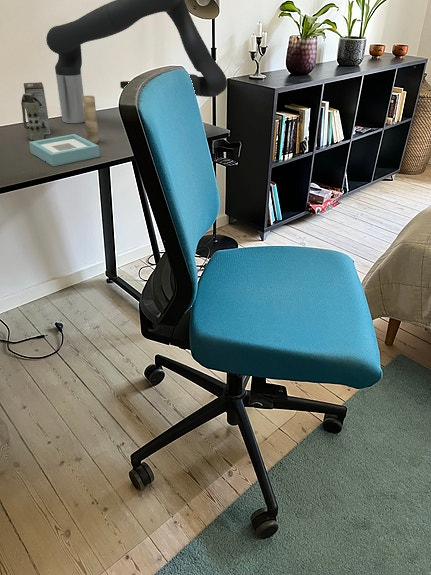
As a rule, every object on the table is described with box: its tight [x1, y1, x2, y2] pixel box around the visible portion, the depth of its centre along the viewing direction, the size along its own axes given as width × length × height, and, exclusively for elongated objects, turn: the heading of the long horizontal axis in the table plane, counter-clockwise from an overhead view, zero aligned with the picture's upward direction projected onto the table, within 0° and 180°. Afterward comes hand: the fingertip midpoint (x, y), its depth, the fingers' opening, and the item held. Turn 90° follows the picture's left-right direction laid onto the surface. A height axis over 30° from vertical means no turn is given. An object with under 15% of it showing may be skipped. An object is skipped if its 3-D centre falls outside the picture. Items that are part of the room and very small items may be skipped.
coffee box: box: [23, 81, 52, 136], centre depth 167 cm, size 9×6×16 cm
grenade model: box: [20, 92, 46, 141], centre depth 161 cm, size 6×7×15 cm
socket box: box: [28, 133, 101, 167], centre depth 150 cm, size 16×16×4 cm
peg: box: [82, 95, 100, 145], centre depth 159 cm, size 4×4×15 cm
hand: (121, 87), depth 156 cm, fingers open, 8 cm apart
